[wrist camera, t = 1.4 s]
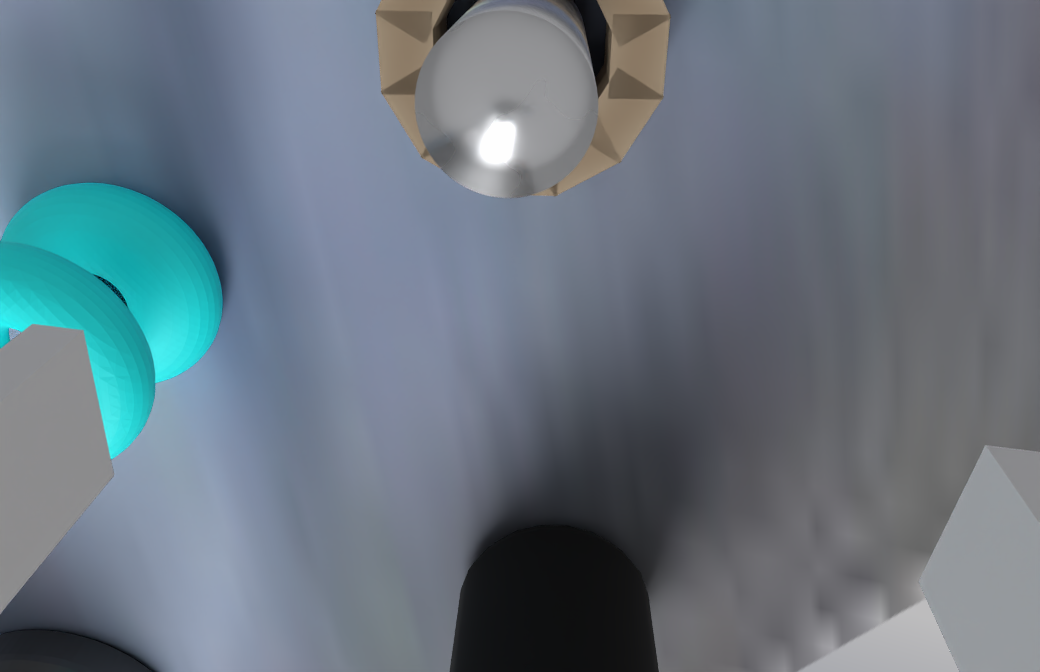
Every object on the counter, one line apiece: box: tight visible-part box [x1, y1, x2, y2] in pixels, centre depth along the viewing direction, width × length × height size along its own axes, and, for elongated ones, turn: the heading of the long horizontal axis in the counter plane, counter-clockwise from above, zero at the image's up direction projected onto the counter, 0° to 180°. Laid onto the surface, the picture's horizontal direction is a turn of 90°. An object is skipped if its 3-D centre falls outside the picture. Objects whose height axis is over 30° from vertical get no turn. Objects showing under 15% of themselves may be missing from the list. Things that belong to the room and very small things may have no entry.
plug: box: [415, 0, 598, 198], centre depth 26 cm, size 5×5×13 cm
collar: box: [375, 0, 671, 196], centre depth 30 cm, size 10×10×4 cm
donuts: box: [0, 183, 223, 459], centre depth 34 cm, size 10×10×10 cm
